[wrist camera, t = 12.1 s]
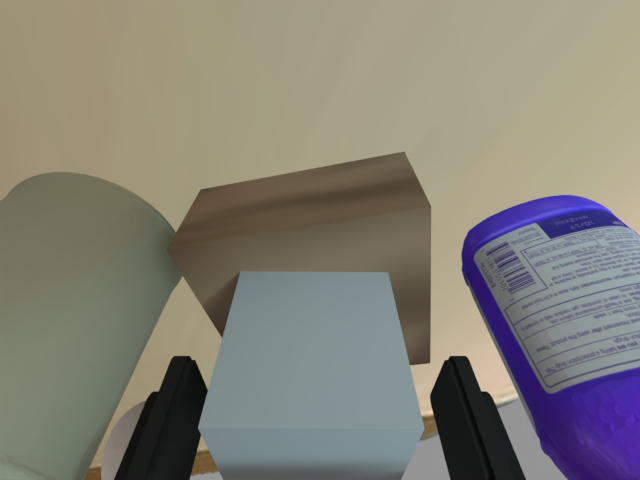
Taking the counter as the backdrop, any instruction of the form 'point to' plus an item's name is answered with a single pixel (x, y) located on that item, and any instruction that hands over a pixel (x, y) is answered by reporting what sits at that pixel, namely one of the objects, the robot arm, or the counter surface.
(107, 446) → the egg
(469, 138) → the counter surface
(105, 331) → the can
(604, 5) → the counter surface
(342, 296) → the grey cube
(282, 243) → the walnut block
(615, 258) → the bottle
